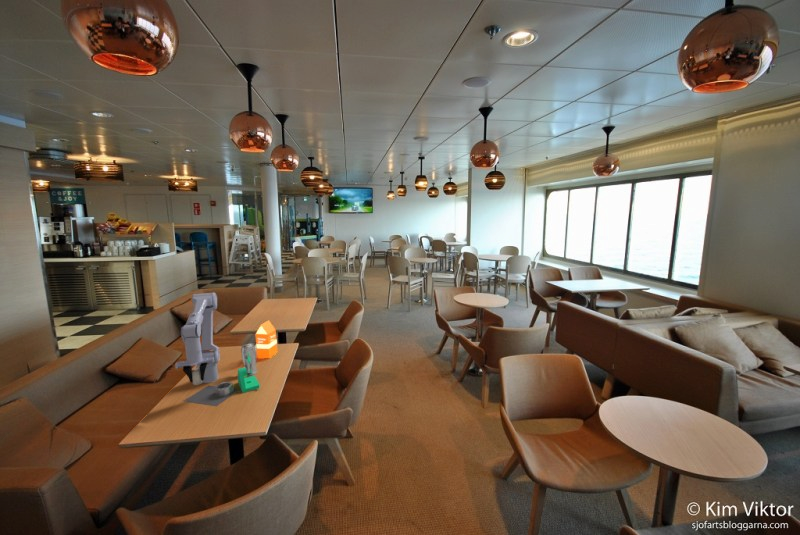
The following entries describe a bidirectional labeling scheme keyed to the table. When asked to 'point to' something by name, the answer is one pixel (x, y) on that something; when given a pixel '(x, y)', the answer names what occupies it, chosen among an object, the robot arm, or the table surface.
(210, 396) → the mat
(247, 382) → the camera mount
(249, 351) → the beer glass
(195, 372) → the plug cap
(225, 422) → the table surface
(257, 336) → the orange juice
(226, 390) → the sleeve
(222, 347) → the table surface
